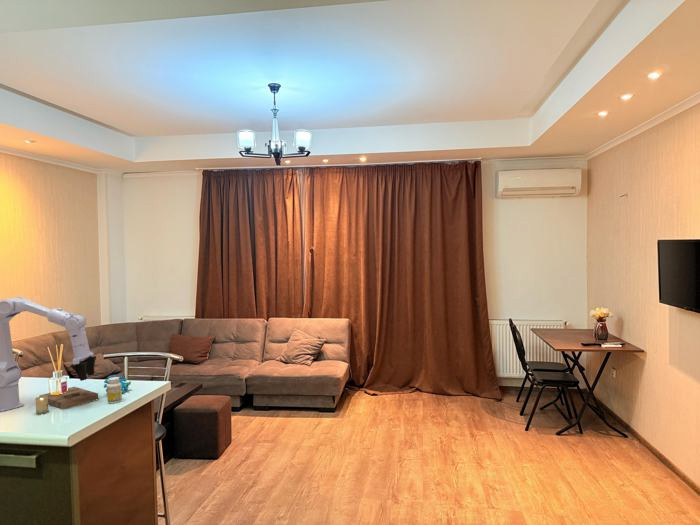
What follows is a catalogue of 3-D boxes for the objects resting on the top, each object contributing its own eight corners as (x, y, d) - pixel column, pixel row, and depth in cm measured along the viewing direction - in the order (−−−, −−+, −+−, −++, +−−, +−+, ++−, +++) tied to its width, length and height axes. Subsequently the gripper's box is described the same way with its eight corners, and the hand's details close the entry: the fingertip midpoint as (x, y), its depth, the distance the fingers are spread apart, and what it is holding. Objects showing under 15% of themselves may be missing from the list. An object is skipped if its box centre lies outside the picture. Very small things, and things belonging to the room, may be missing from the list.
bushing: (34, 413, 184) (33, 398, 183) (45, 410, 187) (44, 395, 187) (39, 415, 181) (38, 400, 181) (50, 412, 185) (49, 397, 184)
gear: (106, 394, 200) (102, 374, 205) (102, 402, 203) (99, 382, 208) (133, 392, 207) (129, 372, 213) (129, 399, 210) (126, 380, 216)
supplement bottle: (118, 403, 193) (117, 380, 192) (104, 404, 193) (103, 380, 192) (124, 399, 198) (123, 376, 198) (111, 399, 198) (110, 376, 198)
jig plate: (39, 401, 199) (39, 395, 199) (74, 392, 210) (74, 386, 210) (62, 409, 187) (62, 403, 187) (98, 399, 199) (98, 393, 199)
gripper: (83, 346, 187) (90, 380, 187) (97, 339, 201) (104, 370, 202) (64, 350, 186) (71, 384, 186) (79, 343, 200) (86, 374, 201)
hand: (87, 377), depth 194 cm, fingers open, 7 cm apart
